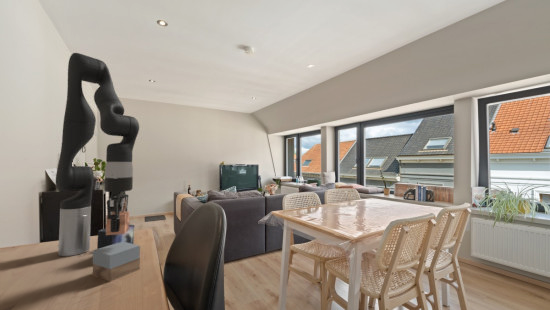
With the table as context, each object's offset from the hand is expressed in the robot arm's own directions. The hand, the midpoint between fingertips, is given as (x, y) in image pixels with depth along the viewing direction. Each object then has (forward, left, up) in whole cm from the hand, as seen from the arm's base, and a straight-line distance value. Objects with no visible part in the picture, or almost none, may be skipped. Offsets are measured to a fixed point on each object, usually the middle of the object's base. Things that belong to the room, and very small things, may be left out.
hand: (117, 229), depth 75 cm
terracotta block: (0, 0, -1) cm, 1 cm away
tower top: (0, 0, -10) cm, 10 cm away
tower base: (0, 0, -14) cm, 14 cm away
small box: (-14, +8, -14) cm, 21 cm away
